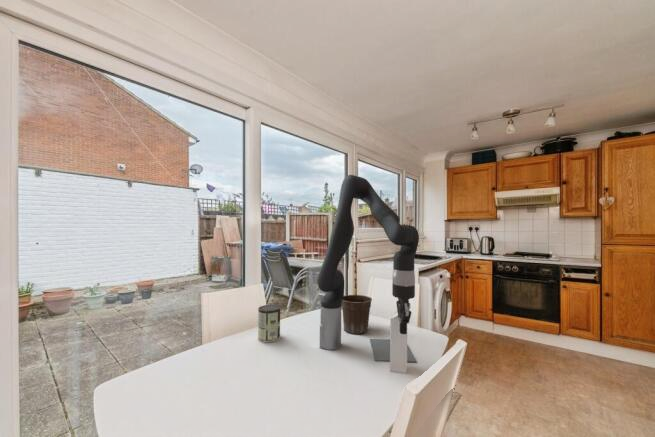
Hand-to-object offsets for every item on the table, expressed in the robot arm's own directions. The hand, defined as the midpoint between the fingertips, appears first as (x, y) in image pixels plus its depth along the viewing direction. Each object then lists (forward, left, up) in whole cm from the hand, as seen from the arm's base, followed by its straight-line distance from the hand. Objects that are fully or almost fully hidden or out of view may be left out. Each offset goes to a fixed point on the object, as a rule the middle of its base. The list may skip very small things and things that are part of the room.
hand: (403, 333), depth 97 cm
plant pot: (-14, +46, -16) cm, 51 cm away
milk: (0, +8, -16) cm, 18 cm away
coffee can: (-55, +32, -16) cm, 66 cm away
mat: (0, +24, -16) cm, 29 cm away
